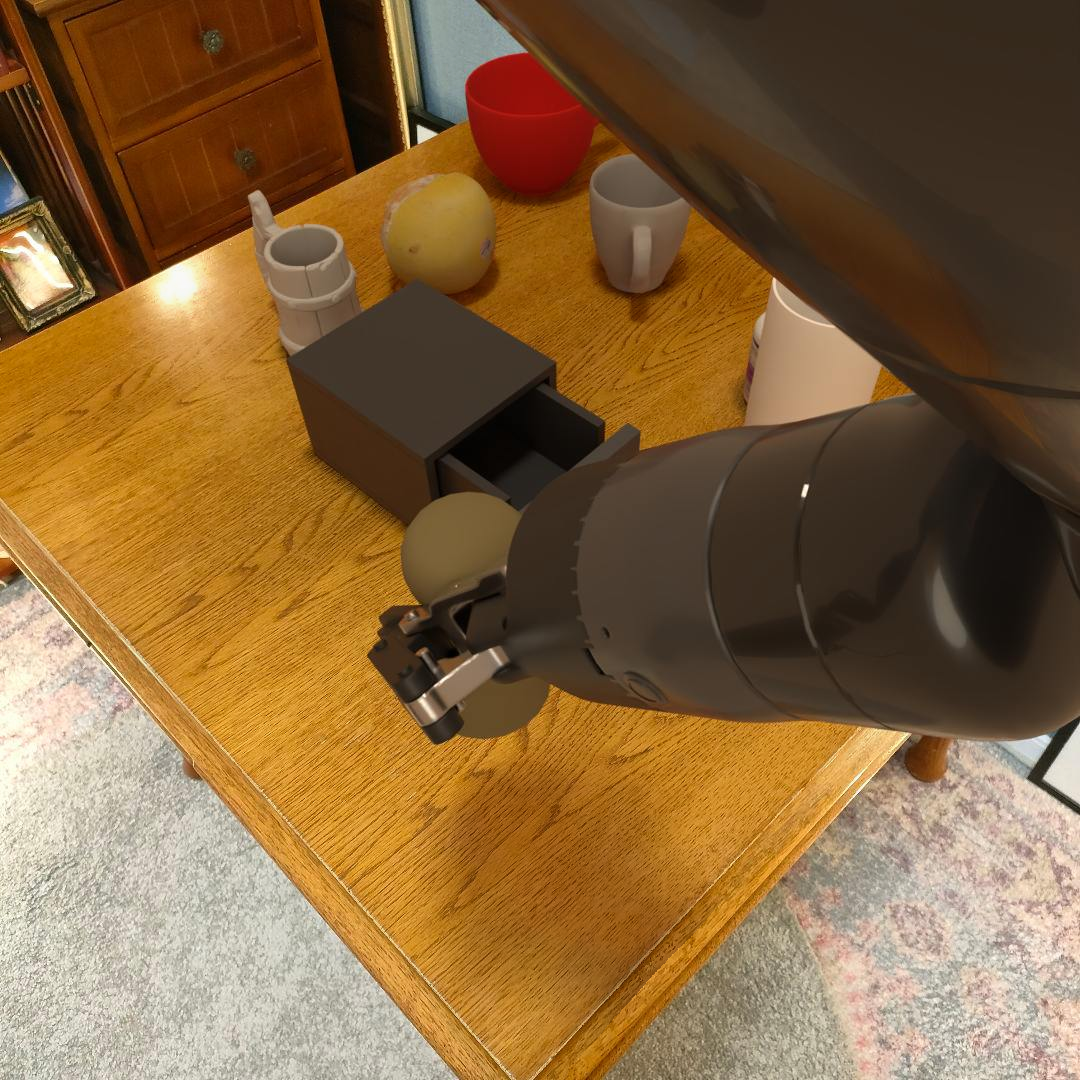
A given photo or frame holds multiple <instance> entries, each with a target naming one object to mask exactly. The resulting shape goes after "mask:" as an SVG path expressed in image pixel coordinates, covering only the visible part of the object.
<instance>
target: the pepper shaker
mask: <svg viewBox="0 0 1080 1080" xmlns="http://www.w3.org/2000/svg"><path fill="white" fill-rule="evenodd" d="M521 517H522V515H521V514H520V513H519V512H518V511H517V510H515V509H514V508H513V507H511V506H510V505H509V504H507V503H506V502H504V501H503V500H502V499H499V498H497V497H494V496H491V495H488V494H486V493H476V492H463V493H456V494H450V495H447V496H445V497H442V498H440V499H437V500H435V501H433V502H432V503H430V504H429V505H428V506H426V507H425V508H424V509H422V510H421V511H420V512H419V513H418V515H417V516H416V517H415V519H414V520H413V521H412V523H411V524H410V525H409V526H407V528H406V530H405V532H404V536H403V539H402V542H401V547H400V552H399V553H400V564H401V572H402V575H403V576H402V577H403V579H404V581H405V584H406V586H407V587H408V590H409V591H410V593H411V595H412V596H413V597H414V599H415V600H416V601H417V603H418V604H419V605H423V606H425V605H428V604H430V603H431V602H432V601H433V600H434V599H435V598H436V597H437V596H438V595H439V594H440V593H441V592H442V591H443V590H444V589H445V588H446V587H447V586H448V585H449V584H450V583H451V582H453V581H456V580H458V579H461V578H464V577H467V576H469V575H472V574H475V573H477V572H480V571H483V570H485V569H488V568H489V567H490V566H491V565H492V563H493V562H494V561H495V560H496V559H497V558H498V557H500V556H503V555H506V554H508V553H509V548H510V545H511V541H512V538H513V535H514V532H515V530H516V527H517V525H518V523H519V521H520V519H521ZM473 602H474V601H472V603H473ZM444 632H445V631H444ZM445 633H446V632H445ZM446 635H447V634H446ZM447 636H448V635H447ZM448 638H449V636H448ZM449 639H450V638H449ZM450 641H451V639H450ZM451 642H452V641H451ZM452 643H453V642H452ZM453 645H454V644H453ZM454 647H455V645H454ZM550 689H551V684H549V683H547V682H545V681H544V680H542V679H540V678H538V677H530V678H526V679H523V680H520V681H517V682H515V683H511V684H499V683H495V682H493V681H491V680H490V679H488V680H487V681H486V682H484V683H483V684H482V685H480V686H479V687H478V688H476V689H475V690H474V691H472V692H471V693H470V694H468V695H467V696H466V697H465V698H463V699H464V700H465V702H466V703H467V707H466V708H465V709H464V710H463V711H462V712H460V713H459V714H460V716H461V717H462V719H463V720H464V725H463V727H462V728H461V730H460V731H459V732H458V733H457V734H456V735H458V736H461V737H462V738H471V739H478V740H489V739H494V738H500V737H506V736H508V735H510V734H513V733H515V732H517V731H519V730H521V729H522V728H525V727H526V726H527V725H528V724H529V723H530V722H531V721H532V720H533V719H535V718H536V717H537V716H538V715H539V714H540V712H541V711H542V709H543V707H544V705H545V704H546V702H547V700H548V698H549V696H550Z"/></svg>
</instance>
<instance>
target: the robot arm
mask: <svg viewBox="0 0 1080 1080" xmlns="http://www.w3.org/2000/svg"><path fill="white" fill-rule="evenodd" d="M474 1H475V2H476V3H477V4H478V5H479V6H480V7H481V8H482V9H483V10H484V11H485V12H487V14H488V15H489V16H490V17H492V19H494V20H495V21H496V23H497V24H499V25H500V26H501V28H503V29H504V30H505V31H506V32H507V34H509V35H510V36H511V37H512V38H513V39H514V40H515V41H516V42H517V43H518V44H519V45H520V46H521V47H522V48H523V49H524V50H525V51H526V53H529V54H530V55H531V56H532V57H533V58H534V59H535V60H536V61H537V62H538V63H540V64H541V65H542V66H543V67H544V68H545V69H546V70H547V71H548V72H549V73H550V74H551V75H552V76H553V77H554V78H555V79H556V80H557V81H558V82H559V83H560V84H561V85H562V86H563V87H564V88H565V89H566V90H567V91H568V92H569V93H570V94H571V95H572V96H573V97H574V98H575V99H576V100H577V101H578V102H579V103H580V104H581V105H582V106H583V107H584V108H585V109H586V110H587V111H588V112H589V113H590V114H591V115H592V116H594V117H595V118H596V119H597V120H598V121H599V122H600V123H599V124H601V126H603V127H604V128H605V129H607V131H609V133H611V134H612V135H613V136H614V137H615V138H617V140H618V141H620V142H621V143H622V144H623V145H624V146H625V147H626V148H627V149H628V150H630V152H632V154H635V155H636V156H637V157H638V158H639V159H641V160H642V161H643V162H644V163H645V164H646V165H647V166H648V167H649V168H650V169H651V170H653V171H654V172H655V173H656V174H657V175H658V176H659V177H660V178H661V179H662V180H663V181H665V182H666V183H667V184H668V185H669V186H670V187H671V188H672V189H673V190H674V191H675V192H677V193H678V194H679V195H680V196H681V197H682V198H683V199H684V200H685V201H686V202H687V203H689V204H690V205H691V208H693V210H695V211H696V212H697V213H698V214H699V215H700V216H701V217H702V218H703V219H705V220H706V221H707V222H708V223H709V224H710V225H712V226H713V227H714V228H716V230H717V231H719V232H720V233H721V234H723V236H725V237H726V238H727V239H728V240H730V242H732V243H733V244H734V245H735V246H736V247H737V248H738V249H740V250H741V251H742V252H744V254H746V255H748V257H750V259H752V260H753V261H754V262H755V263H757V265H758V266H760V267H761V268H763V269H764V270H765V271H766V272H767V273H768V274H769V275H770V276H772V278H773V277H774V278H775V279H777V280H778V281H779V282H780V283H781V284H782V285H784V286H785V287H786V288H787V289H788V290H789V291H791V292H792V293H793V294H794V295H795V296H796V297H798V298H799V299H800V300H801V301H802V302H804V303H805V304H806V305H807V306H809V307H810V308H811V309H813V310H814V311H816V312H817V313H819V314H820V315H821V316H822V317H824V318H825V319H826V320H827V321H828V322H830V323H831V324H832V325H833V326H834V327H836V328H837V329H838V330H839V331H840V332H842V333H843V334H844V335H845V336H846V337H848V338H849V339H850V340H851V341H852V342H854V343H855V344H856V345H857V346H859V347H860V348H861V349H862V350H863V351H865V352H866V353H867V354H868V355H869V356H871V357H872V358H873V359H874V360H875V361H877V362H878V363H879V364H880V365H881V366H882V368H884V370H886V371H887V372H888V373H890V374H891V375H892V376H893V377H895V378H896V379H897V380H898V381H899V382H901V383H902V384H903V385H904V386H906V387H907V388H908V389H909V390H911V392H908V393H903V394H898V395H894V396H889V397H885V398H883V399H881V400H876V401H873V402H870V403H868V404H864V405H860V406H856V407H852V408H848V409H844V410H840V411H836V412H832V413H828V414H824V415H820V416H816V417H812V418H808V419H804V420H800V421H795V422H789V423H784V424H773V425H752V426H744V425H743V426H742V425H741V426H734V427H729V428H723V429H718V430H713V431H712V430H711V431H709V432H704V433H701V434H697V435H694V436H690V437H684V438H681V439H678V440H674V441H671V442H667V443H663V444H659V445H656V446H652V447H648V448H644V449H639V451H636V452H632V453H629V454H625V455H621V456H617V457H614V458H610V459H606V460H602V461H598V462H595V463H591V464H587V465H583V466H580V467H577V468H575V469H572V470H570V471H568V472H566V473H564V474H562V475H561V476H559V477H557V478H556V479H554V480H553V481H552V482H550V483H549V484H548V485H547V486H546V487H544V488H543V489H542V490H541V491H540V492H539V493H538V494H537V495H536V497H535V498H534V499H533V500H532V502H531V503H530V504H529V506H528V507H527V509H526V510H525V512H524V514H523V515H522V517H521V519H520V521H519V523H518V525H517V527H516V530H515V532H514V535H513V538H512V541H511V545H510V548H509V553H508V554H506V555H503V556H500V557H498V558H497V559H496V560H495V561H494V562H493V563H492V565H491V566H490V567H489V568H488V569H485V570H483V571H480V572H477V573H475V574H472V575H469V576H467V577H464V578H461V579H458V580H456V581H453V582H451V583H450V584H449V585H448V586H447V587H446V588H445V589H444V590H443V591H442V592H441V593H440V594H439V595H438V596H437V597H436V598H435V599H434V600H433V601H432V602H431V603H430V604H428V605H425V606H423V605H421V604H407V605H405V604H404V605H391V606H390V607H389V608H387V609H386V610H385V611H384V612H382V613H381V614H380V615H379V616H378V620H379V623H380V624H381V626H382V627H380V628H378V630H377V631H376V635H377V637H378V638H379V640H378V641H376V642H375V643H374V644H373V645H372V647H371V649H369V651H368V652H367V654H366V657H367V658H368V660H369V662H370V663H371V664H372V665H373V667H374V668H375V670H377V672H378V673H379V674H380V675H381V677H382V679H383V680H384V681H385V683H387V685H388V686H389V688H390V689H391V690H392V692H393V693H394V694H395V696H396V698H397V700H398V701H399V703H400V704H401V706H402V707H403V708H404V710H405V711H406V712H407V713H408V715H409V716H410V717H411V719H412V720H413V721H414V722H415V724H416V725H417V726H418V727H419V729H420V730H421V731H422V732H423V733H424V735H425V736H426V737H427V739H428V741H430V743H431V744H432V745H434V746H438V745H441V744H444V743H446V742H449V741H450V740H452V739H453V738H454V737H456V735H458V734H457V733H458V732H459V731H460V730H461V728H462V727H463V725H464V720H463V719H462V717H461V716H460V714H459V713H460V712H462V711H463V710H464V709H465V708H466V707H467V703H466V702H465V700H464V699H463V698H465V697H466V696H467V695H468V694H470V693H471V692H472V691H474V690H475V689H476V688H478V687H479V686H480V685H482V684H483V683H484V682H486V681H487V680H488V679H490V680H491V681H493V682H495V683H499V684H511V683H515V682H517V681H520V680H523V679H526V678H530V677H538V678H540V679H542V680H544V681H545V682H547V683H549V684H550V686H553V687H554V688H556V689H558V690H561V691H562V692H564V693H566V694H568V695H571V696H573V697H575V698H578V699H580V700H583V701H587V702H591V703H595V704H599V705H600V704H601V705H607V706H616V707H623V708H630V709H638V710H645V711H653V712H658V713H666V714H673V715H680V716H681V715H682V716H688V717H695V718H703V719H708V720H709V719H710V720H717V721H723V722H730V723H741V724H742V723H743V724H777V723H778V724H779V723H789V722H791V723H792V722H818V723H819V722H820V723H826V724H835V725H842V726H850V727H856V728H857V727H858V728H867V729H875V730H881V731H883V730H884V731H890V732H898V733H907V734H912V735H917V736H924V737H933V738H941V739H949V740H950V739H952V740H960V741H961V740H962V741H963V740H964V741H973V742H988V743H989V742H1016V741H1018V742H1019V741H1024V740H1025V741H1026V740H1032V739H1035V738H1038V737H1041V736H1045V735H1048V734H1052V733H1054V732H1057V730H1059V729H1061V728H1063V727H1064V726H1066V725H1068V724H1069V723H1071V722H1072V721H1074V720H1075V719H1077V718H1079V717H1080V0H474ZM472 601H474V602H473V603H472ZM444 631H445V632H446V633H445V632H444ZM446 634H447V635H448V636H449V638H450V639H451V641H452V642H453V643H452V642H451V641H450V639H449V638H448V636H447V635H446ZM453 644H454V645H455V647H454V645H453Z"/></svg>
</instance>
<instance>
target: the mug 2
mask: <svg viewBox="0 0 1080 1080" xmlns="http://www.w3.org/2000/svg"><path fill="white" fill-rule="evenodd" d="M588 198H589V199H588V200H589V217H590V218H589V219H590V226H591V227H590V228H591V234H592V238H593V242H594V247H595V250H596V253H597V255H598V258H599V260H600V263H601V265H602V267H603V268H604V271H605V274H606V278H607V280H608V283H610V284H611V286H613V287H614V288H615V289H616V290H617V289H618V290H620V291H622V292H626V293H634V294H644V293H647V292H650V291H653V290H655V289H656V288H658V287H660V285H661V284H662V283H663V282H664V280H665V277H666V275H667V273H668V271H669V270H670V268H671V267H672V265H673V263H674V262H675V260H676V258H677V256H678V254H679V252H680V250H681V246H682V245H683V241H684V238H685V235H686V232H687V228H688V224H689V220H690V215H691V208H692V206H691V205H690V204H689V203H687V202H686V201H685V200H684V199H683V198H682V197H681V196H680V195H679V194H678V193H677V192H675V191H674V190H673V189H672V188H671V187H670V186H669V185H668V184H667V183H666V182H665V181H663V180H662V179H661V178H660V177H659V176H658V175H657V174H656V173H655V172H654V171H653V170H651V169H650V168H649V167H648V166H647V165H646V164H645V163H644V162H643V161H642V160H641V159H639V158H638V157H637V156H636V155H635V154H634V153H629V154H628V153H627V154H623V155H619V156H616V157H612V158H610V159H608V160H606V161H604V162H602V163H601V164H599V166H597V168H596V169H594V171H593V173H592V174H591V176H590V182H589V197H588Z"/></svg>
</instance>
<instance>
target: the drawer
mask: <svg viewBox="0 0 1080 1080" xmlns="http://www.w3.org/2000/svg"><path fill="white" fill-rule="evenodd" d="M641 434H642V431H641V430H640V429H638V428H637V427H635V426H633V425H632V424H631V423H629V422H627V423H625V424H624V425H622V427H620V428H619V429H618V430H617V431H615V432H614V433H613V434H612V435H610V437H608V438H607V439H606V420H605V419H604V418H601V417H600V416H599V415H596V414H595V413H594V412H592V411H590V410H589V409H587V408H585V407H583V406H582V405H581V404H579V403H577V402H576V401H574V400H572V399H571V398H569V397H568V396H566V395H564V394H562V393H561V392H559V391H558V390H557V391H556V390H554V389H553V388H551V387H549V386H548V385H546V384H545V383H543V382H540V383H539V384H537V385H536V386H534V387H533V388H532V389H530V390H529V391H528V392H526V393H525V394H524V395H522V396H521V397H520V398H518V399H517V400H516V401H514V402H513V403H511V404H510V405H509V406H507V407H506V408H505V409H503V410H502V411H501V412H499V413H498V414H497V415H495V416H494V417H493V418H491V419H490V420H488V421H487V422H486V423H484V424H483V425H482V426H480V427H479V428H478V429H476V430H475V431H474V432H472V433H471V434H470V435H468V436H467V437H465V438H464V439H463V440H461V441H460V442H459V443H457V444H456V445H455V446H453V447H452V448H451V449H449V450H448V451H447V452H445V453H444V454H442V455H441V456H440V457H438V458H437V459H436V460H434V464H435V470H436V476H437V482H438V489H439V495H440V498H442V497H445V496H447V495H450V494H456V493H463V492H476V493H486V494H488V495H491V496H494V497H497V498H499V499H502V500H503V501H504V502H506V503H507V504H509V505H510V506H511V507H513V508H514V509H515V510H517V511H518V512H519V513H520V514H521V515H523V514H524V512H525V510H526V509H527V507H528V506H529V504H530V503H531V502H532V500H533V499H534V498H535V497H536V495H537V494H538V493H539V492H540V491H541V490H542V489H543V488H544V487H546V486H547V485H548V484H549V483H550V482H552V481H553V480H554V479H556V478H557V477H559V476H561V475H562V474H564V473H566V472H568V471H570V470H572V469H575V468H577V467H580V466H583V465H587V464H591V463H595V462H598V461H602V460H606V459H610V458H614V457H617V456H621V455H625V454H629V453H632V452H636V451H640V446H641Z"/></svg>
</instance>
